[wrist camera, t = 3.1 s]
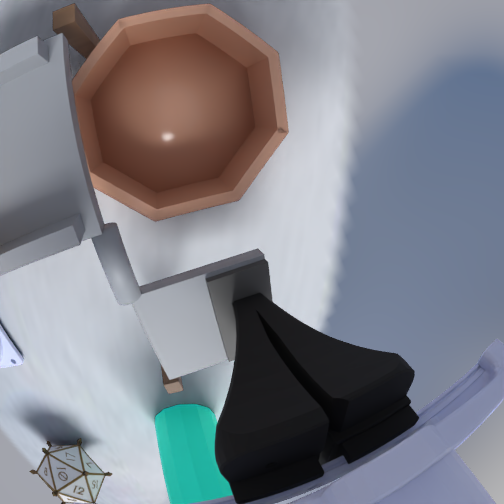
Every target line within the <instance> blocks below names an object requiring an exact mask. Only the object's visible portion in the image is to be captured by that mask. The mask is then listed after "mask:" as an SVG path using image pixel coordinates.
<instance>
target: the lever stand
mask: <svg viewBox="0 0 504 504" xmlns="http://www.w3.org/2000/svg"><path fill="white" fill-rule="evenodd" d="M53 31H54V32H56V33H57V34H60V33H63V35H64V36H65V37H66V39H67V40H68V44H70V45H71V46H72V47H73V48H74V49H75V50H76V51H78V52H79V53H80V54H81V55H82V56H83V57H85V58H86V59H87V58H88V57H89V55H90V54H91V52H92V51H93V50H94V48H95V47H96V46H97V45H98V43H99V42H100V39H99V38H98V37H97V35H96V34H95V32H94V31H93V29H92V28H91V26H90V25H89V23H88V22H87V21H86V19H85V18H84V16H83V15H82V13H81V12H80V10H79V9H78V7H77V6H76V4H75V3H74V4H71V5H69V6H66V7H63V8H61V9H59V10H56V11H54V12H53ZM161 369H162V377H163V384H164V387H165V388H166V390H167V392H168V393H169V394H171V393H175V392H179V391H183V385H182V380H181V377H177V378H174V379H171V380H169V378H168V376H167V374H166V372H165V371H164V369H163V367H162V365H161Z"/></svg>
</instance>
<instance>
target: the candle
mask: <svg viewBox="0 0 504 504" xmlns="http://www.w3.org/2000/svg"><path fill="white" fill-rule="evenodd" d="M216 425H217V420H216V417H215V414H214V413H213V412H212V411H211V410H210V408H208V407H205V406H201V405H198V404H178V405H175V406H172V407H169V408H165V409H163V410H162V411H161V412H160V413H159V414H157V415H156V416H155V428H156V434H157V441H158V447H159V453H160V458H161V463H162V469H163V474H164V478H165V483H166V488H167V492H168V496H169V501H170V504H190V503H196V502H202V501H208V500H213V499H218V498H222V497H227V496H231V495H233V494H232V491H231V488H230V485H229V482H228V481H227V480H226V479H225V478H224V477H223V476H222V474H221V473H220V471H219V468H218V465H217V462H216V459H215V433H216Z"/></svg>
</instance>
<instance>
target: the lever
mask: <svg viewBox="0 0 504 504" xmlns="http://www.w3.org/2000/svg"><path fill="white" fill-rule="evenodd" d="M90 238H92V241H93V244H94V247H95V249H96V252H97V254H98V257H99V260H100V262H101V265H102V267H103V270H104V272H105V274H106V277H107V279H108V282H109V284H110V286H111V289H112V291H113V293H114V295H115V297H116V300H117V302H118V303H119V304H120V305H129V304H132V306H133V308H134V310H135V312H136V315H137V317H138V319H139V321H140V323H141V325H142V327H143V329H144V332H145V334H146V336H147V338H148V340H149V342H150V344H151V346H152V348H153V350H154V352H155V354H156V356H157V357H158V359H159V361H160V363H161V365H162V367H163V369H164V371H165V372H166V374H167V376H168V378H169V380H171V379H174V378H177V377H181V376H184V375H187V374H190V373H193V372H196V371H198V370H201V369H204V368H207V367H210V366H213V365H215V364H218V363H221V362H224V361H226V360H229V361H232V360H235V352H236V320H235V315H234V311H233V306H232V303H233V302H234V301H236V300H239V299H242V298H245V297H248V296H251V295H254V294H257V293H262V294H263V295H264V296H266V297H267V298H268V299H269V300H271V301H272V293H271V284H270V275H269V267H268V262H267V261H266V260H265V257H264V254H263V253H262V252H261V251H260V250H259V249H255V250H252V251H249V252H246V253H243V254H239V255H236V256H233V257H230V258H227V259H224V260H221V261H218V262H214V263H211V264H208V265H205V266H202V267H199V268H196V269H193V270H190V271H186V272H183V273H180V274H177V275H174V276H171V277H168V278H165V279H162V280H158V281H155V282H152V283H149V284H146V285H143V286H140V287H139V286H138V283H137V280H136V278H135V275H134V273H133V270H132V267H131V264H130V262H129V259H128V256H127V253H126V250H125V247H124V245H123V242H122V239H121V236H120V233H119V229H118V226H117V224H116V223H107V224H104V221H103V218H102V215H101V212H100V209H99V205H98V202H97V199H96V195H95V192H94V188H93V184H92V181H91V177H90V173H89V169H88V165H87V161H86V157H85V152H84V148H83V143H82V139H81V134H80V129H79V124H78V118H77V112H76V106H75V100H74V93H73V86H72V78H71V69H70V59H69V46H68V40H67V39H66V37H65V36H64V35H63V33H60V34H58V35H55V36H53V37H50V38H48V39H45V40H43V41H42V40H41V39H40V38H39V37H38V36H36V37H34V38H32V39H29V40H27V41H25V42H23V43H21V44H19V45H17V46H15V47H13V48H11V49H9V50H7V51H5V52H4V53H2V54H0V276H1V275H3V274H5V273H8V272H10V271H13V270H15V269H18V268H20V267H23V266H25V265H28V264H30V263H33V262H35V261H38V260H40V259H43V258H46V257H48V256H51V255H54V254H56V253H59V252H62V251H64V250H67V249H70V248H73V247H75V246H78V245H80V243H81V241H84V240H87V239H90Z"/></svg>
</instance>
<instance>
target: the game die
mask: <svg viewBox="0 0 504 504" xmlns="http://www.w3.org/2000/svg"><path fill="white" fill-rule="evenodd" d="M81 443H82V442H81V438H80V439H79V440H77V445H59V446H52V445H51V443H50V442H49V441H47V444H48V446H49V449H48V450H46V449H45V448H42V450H43V452H44V453H45V456H44V458H43V460H42V461H41V463H40V465H39V467H38V469H37V471H35V470H31V471H30V472H31V473H32V474H38V475H39V477H40V478H41V479H42V480H43V481H44V482H45V483H46V484H47V486H48V487H49V488H50V489H51V490H52V491H53V492H52V494H53V496H58V497H59V498H60V499H61V500H62V501H63V502H62V503H61V504H65V502H67V503H74V502H76V503H93V504H96V503H95V502H96V499H97V496H98V494H99V491H100V488H101V486H102V483H103V480H104V478H105V476H111V475H112V473H109V472H107V473H104V472H103V471H102V470H101V469H100V468H99V467H98V466H97V465H96V463H95V462H94V461H93V460H92V459H91V458H90V457H89V456H88V455H87V453H86V452H85V451H84V450H83V449H82V448H81V446H80V445H81Z"/></svg>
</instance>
